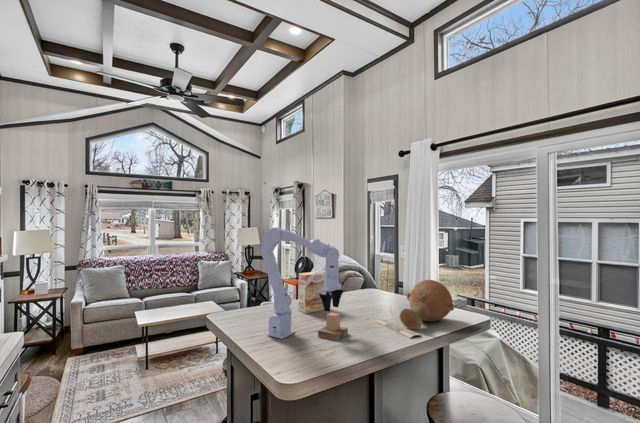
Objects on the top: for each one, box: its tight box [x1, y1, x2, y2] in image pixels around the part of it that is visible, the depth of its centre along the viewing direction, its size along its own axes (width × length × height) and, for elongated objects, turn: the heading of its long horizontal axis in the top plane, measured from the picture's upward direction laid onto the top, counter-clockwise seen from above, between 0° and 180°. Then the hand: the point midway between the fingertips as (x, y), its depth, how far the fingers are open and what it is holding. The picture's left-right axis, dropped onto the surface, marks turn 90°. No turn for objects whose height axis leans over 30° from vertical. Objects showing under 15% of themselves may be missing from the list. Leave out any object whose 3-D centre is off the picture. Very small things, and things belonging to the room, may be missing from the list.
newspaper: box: [375, 318, 423, 339], centre depth 142 cm, size 24×7×2 cm, turn 26°
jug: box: [399, 279, 455, 331], centre depth 152 cm, size 20×19×30 cm
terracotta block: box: [325, 311, 341, 331], centre depth 134 cm, size 4×4×6 cm
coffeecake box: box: [297, 270, 325, 314], centre depth 173 cm, size 15×7×20 cm, turn 126°
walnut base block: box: [317, 325, 349, 342], centre depth 134 cm, size 9×9×3 cm
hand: (331, 308), depth 135 cm, fingers open, 7 cm apart
